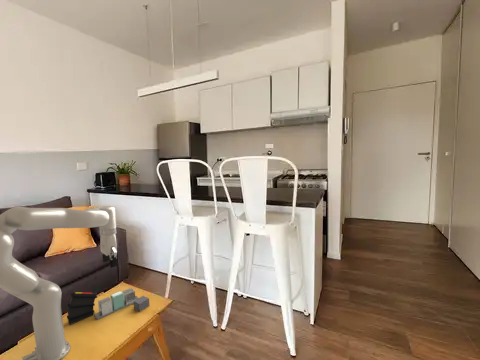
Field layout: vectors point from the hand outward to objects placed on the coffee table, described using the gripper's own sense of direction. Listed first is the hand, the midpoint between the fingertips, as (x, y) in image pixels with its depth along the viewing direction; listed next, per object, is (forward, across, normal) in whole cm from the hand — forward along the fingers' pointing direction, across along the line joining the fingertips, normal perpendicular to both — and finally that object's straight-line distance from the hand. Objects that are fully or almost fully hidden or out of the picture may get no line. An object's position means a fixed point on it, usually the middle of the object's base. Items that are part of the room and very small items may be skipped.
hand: (109, 263), depth 130 cm
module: (+26, -3, +4) cm, 26 cm away
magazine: (+28, -8, -11) cm, 31 cm away
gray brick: (+27, +6, +13) cm, 30 cm away
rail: (+27, -3, +4) cm, 27 cm away
